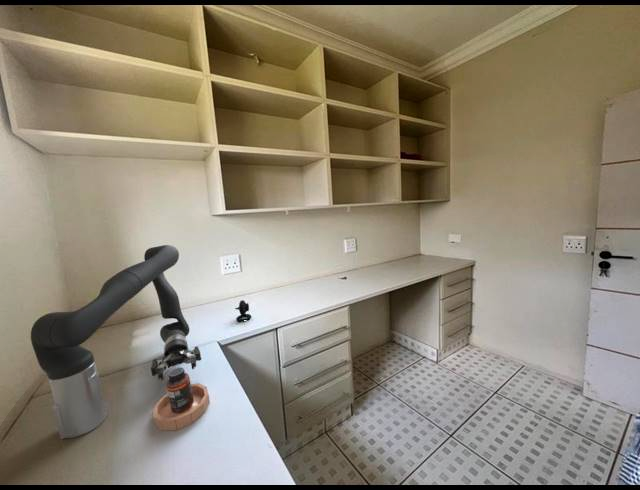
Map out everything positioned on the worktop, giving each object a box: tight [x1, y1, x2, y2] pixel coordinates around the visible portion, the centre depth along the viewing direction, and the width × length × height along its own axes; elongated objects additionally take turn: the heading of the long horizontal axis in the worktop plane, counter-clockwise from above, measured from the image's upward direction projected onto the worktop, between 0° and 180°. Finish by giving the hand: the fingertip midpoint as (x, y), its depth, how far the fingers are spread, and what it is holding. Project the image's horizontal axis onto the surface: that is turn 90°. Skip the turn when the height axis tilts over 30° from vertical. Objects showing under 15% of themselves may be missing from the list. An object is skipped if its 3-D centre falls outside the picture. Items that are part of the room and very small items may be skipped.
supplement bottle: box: [166, 366, 194, 413], centre depth 74 cm, size 6×6×11 cm
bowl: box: [152, 382, 211, 432], centre depth 75 cm, size 14×14×3 cm
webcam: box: [235, 299, 252, 322], centre depth 133 cm, size 8×8×10 cm
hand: (177, 371), depth 80 cm, fingers open, 8 cm apart
